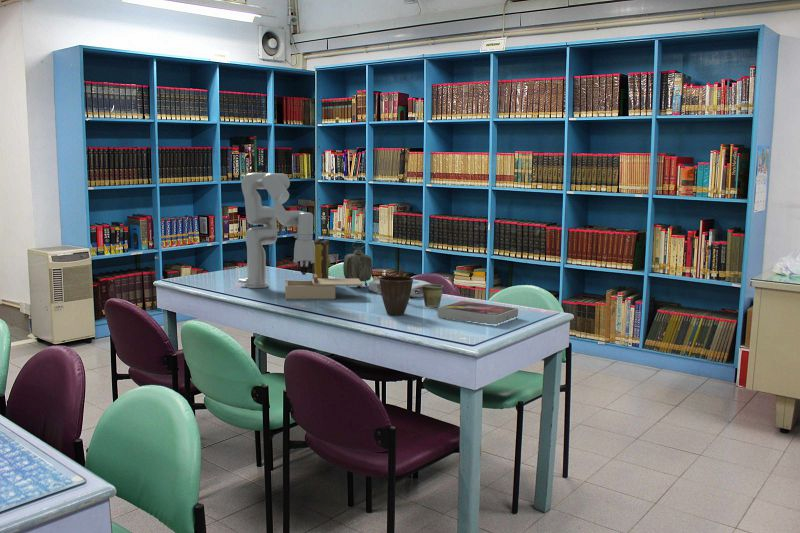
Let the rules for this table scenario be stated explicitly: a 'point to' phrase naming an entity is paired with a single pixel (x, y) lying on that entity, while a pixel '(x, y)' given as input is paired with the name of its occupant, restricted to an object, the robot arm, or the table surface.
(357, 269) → the grey rounded piece
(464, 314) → the product packaging
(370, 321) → the table surface
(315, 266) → the book
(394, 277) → the plant pot
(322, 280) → the mailer lid
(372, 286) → the document scanner
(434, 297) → the ceramic cup
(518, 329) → the table surface
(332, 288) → the box
